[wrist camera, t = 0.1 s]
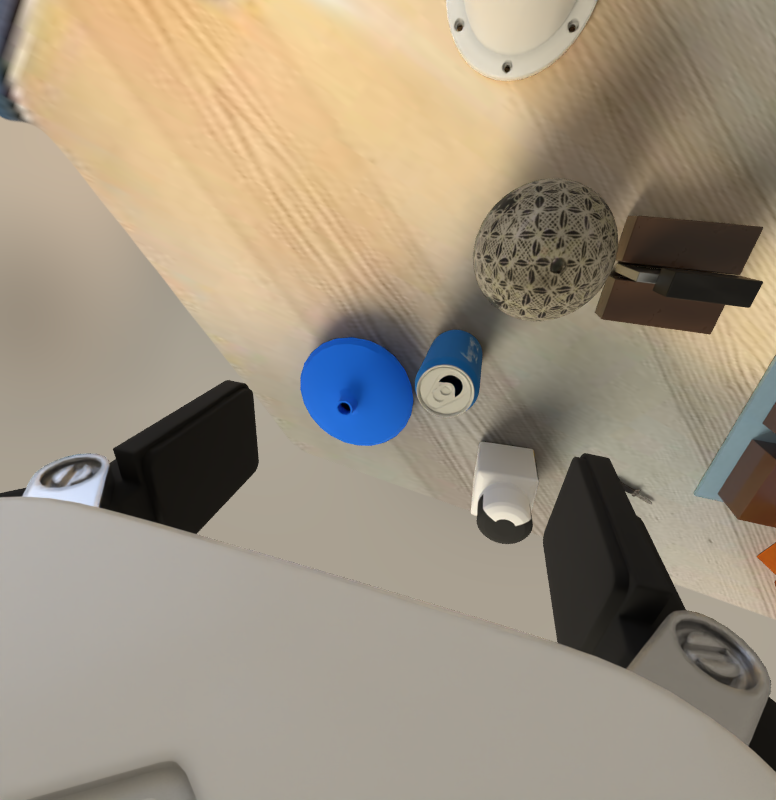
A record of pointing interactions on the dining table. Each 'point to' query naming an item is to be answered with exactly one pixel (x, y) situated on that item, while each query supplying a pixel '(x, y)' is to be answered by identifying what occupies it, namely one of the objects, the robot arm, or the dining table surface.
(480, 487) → the medicine bottle
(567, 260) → the decorative egg
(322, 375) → the vase
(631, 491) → the knife
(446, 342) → the beverage can
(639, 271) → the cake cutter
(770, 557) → the alarm clock
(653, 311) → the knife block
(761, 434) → the cake
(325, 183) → the dining table surface
